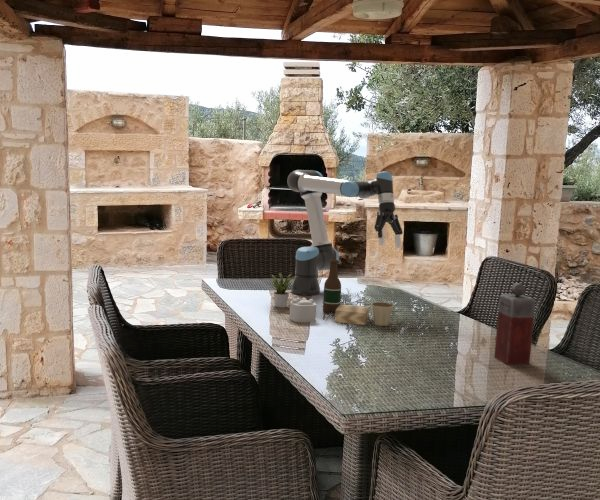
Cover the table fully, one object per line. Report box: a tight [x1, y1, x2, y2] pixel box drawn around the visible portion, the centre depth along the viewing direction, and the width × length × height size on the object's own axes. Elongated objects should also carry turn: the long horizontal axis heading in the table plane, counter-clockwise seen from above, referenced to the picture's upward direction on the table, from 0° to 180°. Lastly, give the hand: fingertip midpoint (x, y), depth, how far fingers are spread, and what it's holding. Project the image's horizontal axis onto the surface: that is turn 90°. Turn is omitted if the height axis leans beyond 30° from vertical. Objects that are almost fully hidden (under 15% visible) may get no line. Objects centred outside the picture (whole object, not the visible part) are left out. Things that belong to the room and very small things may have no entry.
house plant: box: [269, 272, 298, 308], centre depth 309 cm, size 14×14×16 cm
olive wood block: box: [334, 303, 370, 326], centre depth 288 cm, size 13×13×5 cm
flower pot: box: [371, 301, 395, 327], centre depth 282 cm, size 9×9×9 cm
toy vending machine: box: [493, 282, 536, 366], centre depth 236 cm, size 9×11×28 cm
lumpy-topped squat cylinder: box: [289, 297, 317, 323], centre depth 286 cm, size 10×13×9 cm
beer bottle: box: [322, 259, 342, 315], centre depth 301 cm, size 8×8×24 cm
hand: (390, 246), depth 318 cm, fingers open, 13 cm apart
